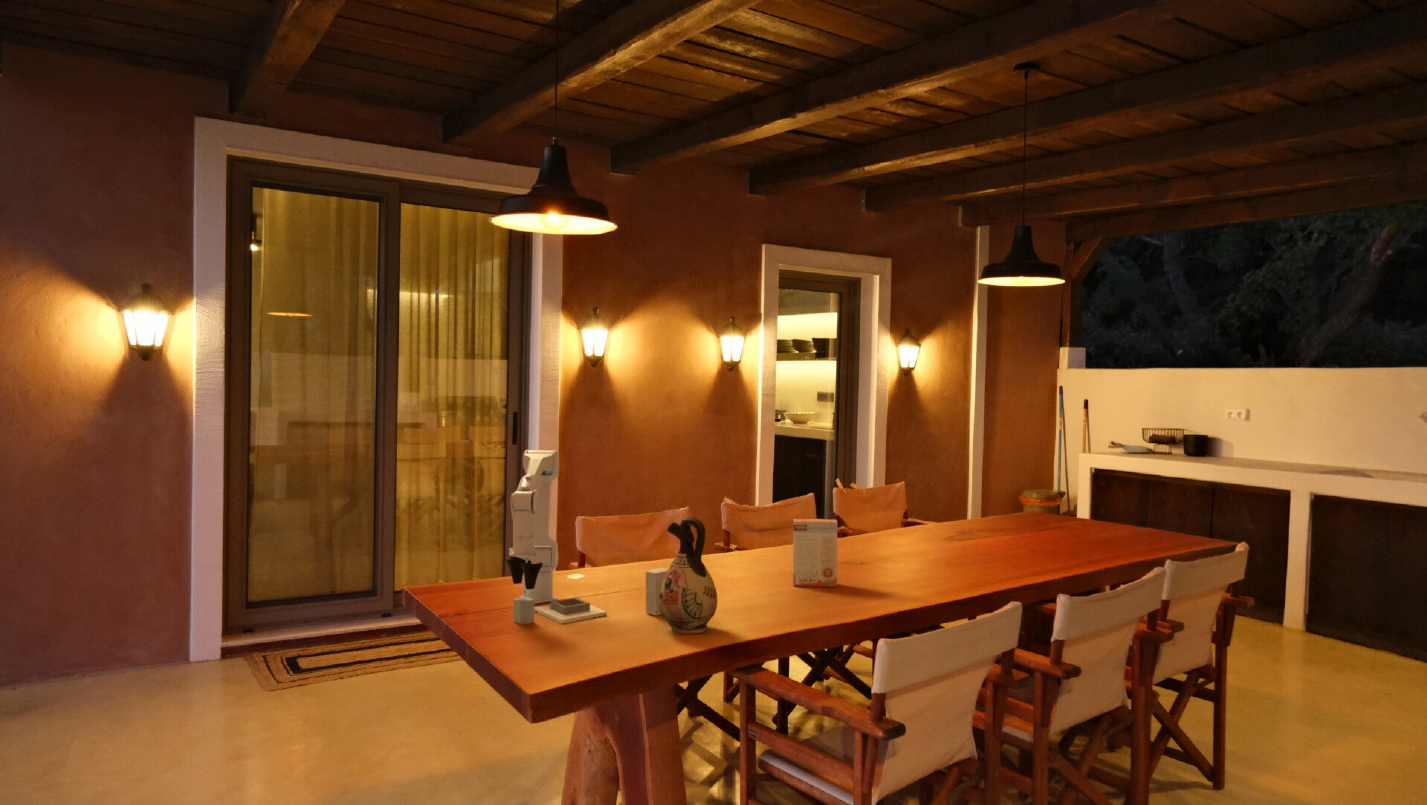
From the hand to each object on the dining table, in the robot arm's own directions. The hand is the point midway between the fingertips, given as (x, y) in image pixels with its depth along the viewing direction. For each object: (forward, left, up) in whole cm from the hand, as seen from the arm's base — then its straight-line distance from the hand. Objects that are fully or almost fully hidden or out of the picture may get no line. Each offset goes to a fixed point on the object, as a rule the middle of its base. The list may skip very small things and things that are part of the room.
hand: (523, 586), depth 238 cm
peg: (0, 0, -10) cm, 10 cm away
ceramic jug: (+33, +31, -10) cm, 46 cm away
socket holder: (0, +14, -10) cm, 17 cm away
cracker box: (+16, +93, -10) cm, 95 cm away
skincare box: (+14, +34, -10) cm, 38 cm away
